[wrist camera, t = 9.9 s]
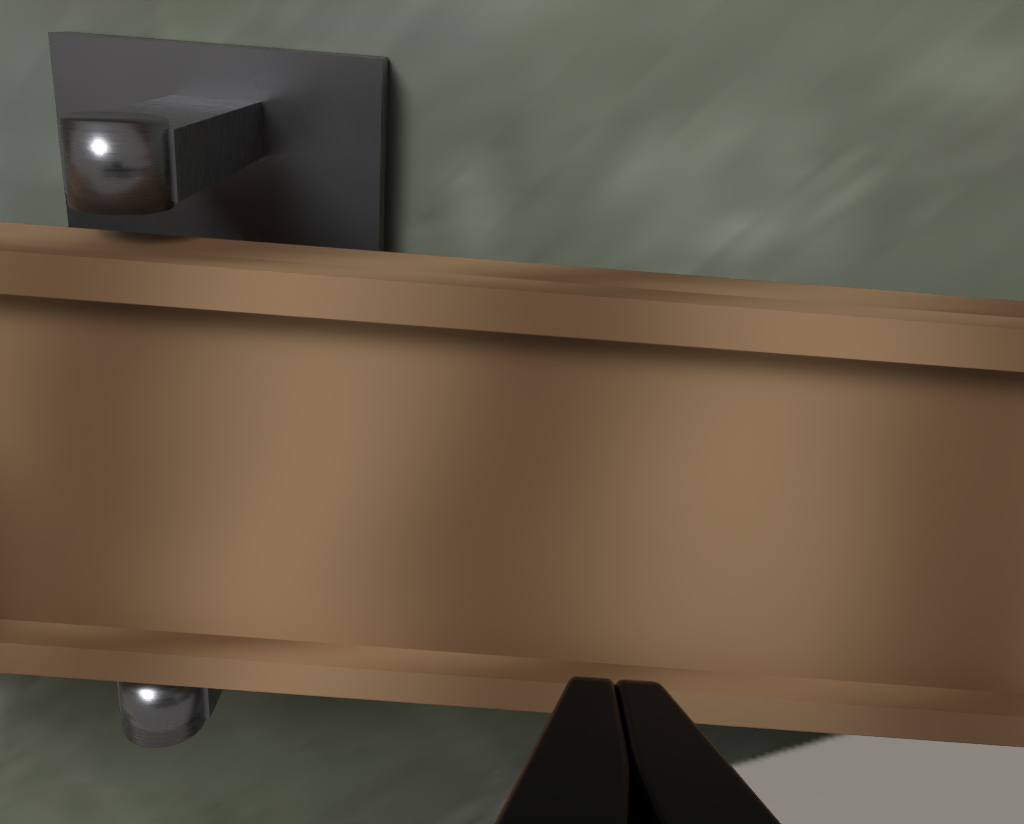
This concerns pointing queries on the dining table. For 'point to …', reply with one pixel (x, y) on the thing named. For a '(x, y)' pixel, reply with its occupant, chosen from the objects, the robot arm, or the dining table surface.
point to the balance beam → (510, 483)
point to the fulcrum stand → (217, 182)
